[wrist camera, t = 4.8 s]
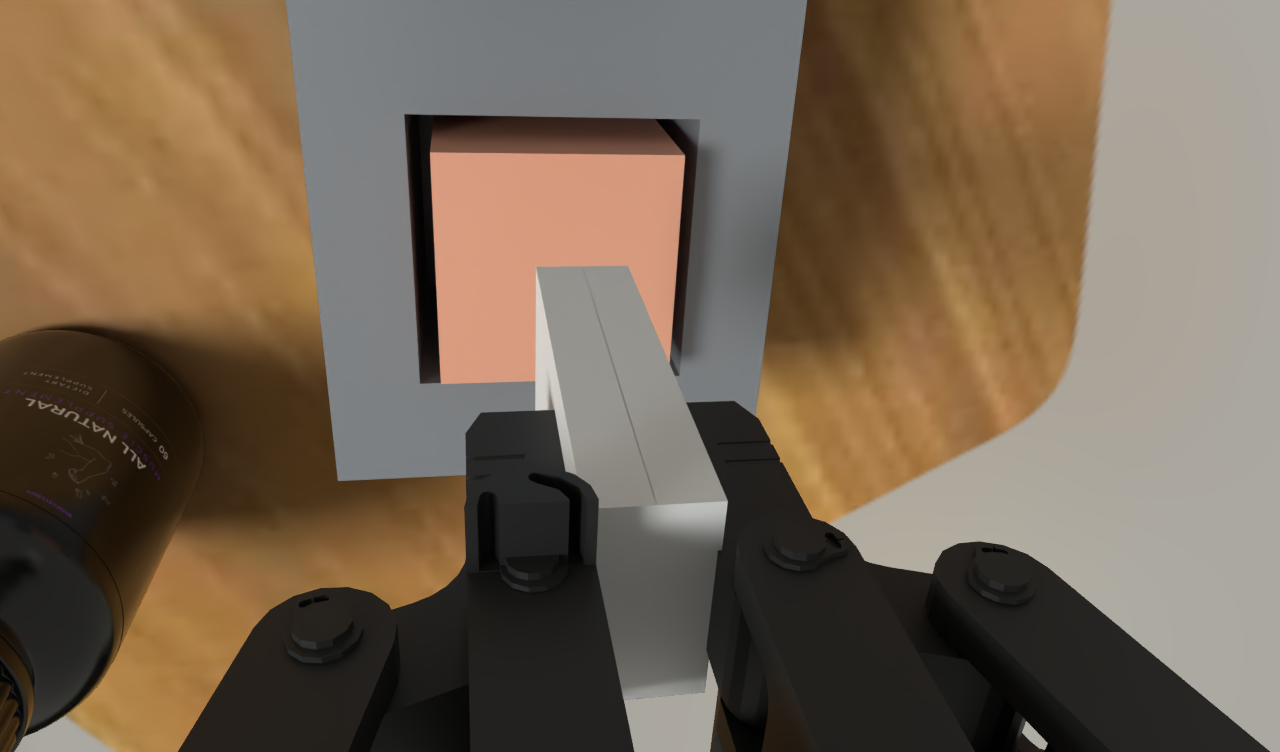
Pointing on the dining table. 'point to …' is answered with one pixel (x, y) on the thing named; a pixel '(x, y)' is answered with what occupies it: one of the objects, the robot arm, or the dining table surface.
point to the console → (540, 87)
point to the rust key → (544, 226)
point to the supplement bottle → (81, 511)
